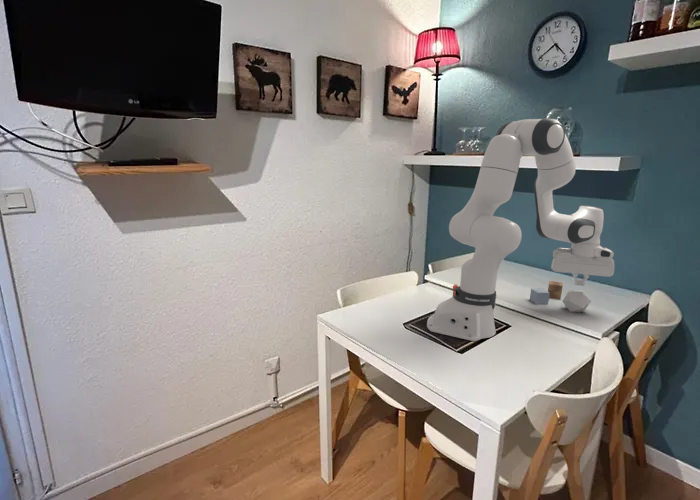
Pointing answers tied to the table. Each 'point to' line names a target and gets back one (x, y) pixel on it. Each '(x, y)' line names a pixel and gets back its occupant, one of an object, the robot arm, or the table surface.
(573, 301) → the die
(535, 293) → the slate block
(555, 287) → the walnut block
